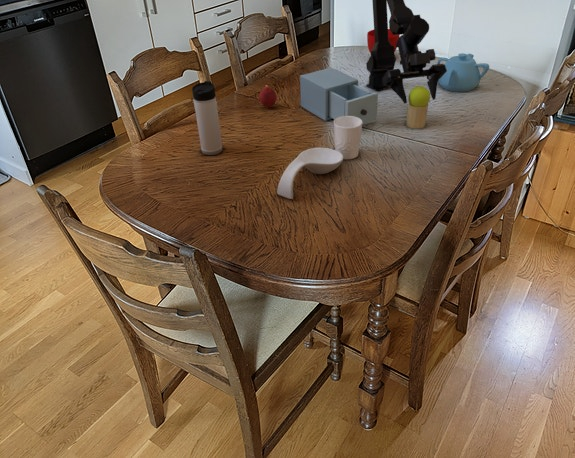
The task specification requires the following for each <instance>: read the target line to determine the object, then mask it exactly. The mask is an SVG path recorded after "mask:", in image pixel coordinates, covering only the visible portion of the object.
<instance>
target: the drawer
mask: <svg viewBox="0 0 575 458" xmlns="http://www.w3.org/2000/svg"><path fill="white" fill-rule="evenodd" d="M378 102H379V93H378V92H377V91H376V92H375V91H374V92H372V93H371V91H369V90H367V89H366V88H363V87H360V86H359V85H358V86H357V85H355V84H351V85H348V86H344V87H340V88H337V89H333V90H330V91H328V116H329V117H331V118H333V119H332V120H333V121H334V120H335V119H336V118H338V117H342V116H354V117H358V118H360V119H361V120H362V126H363V125H366V124H370V123H372V122H375V121H377V117H378V114H377V113H378Z"/></svg>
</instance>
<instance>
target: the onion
mask: <svg viewBox="0 0 575 458" xmlns="http://www.w3.org/2000/svg"><path fill="white" fill-rule="evenodd" d="M258 97H259V98H258V99H259V102H260V104H262V105H263V106H264V107H265V108H266V109H270V108H271V107H272V106H274V105H275V104H276V102H277V98H278V97H277V93H276V92H275V90H274V89H273V88H272V87H270V86H269V85H267V84H265V87H264V88H262V90H261V91H260V93H259V96H258Z"/></svg>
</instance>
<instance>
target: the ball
mask: <svg viewBox="0 0 575 458" xmlns="http://www.w3.org/2000/svg"><path fill="white" fill-rule="evenodd" d="M407 97H408V98H407V99H408V103H409V102H410V104H411V105H412V106H415V107H423V106H425V105H427V103H428V104H429V102H430V100H431V93H430V90H429V88H428V87H425V86H424V85H423V86H422V85H417V86H414V87H413V88H412V89H411V90H410V91H409V93H408V96H407Z"/></svg>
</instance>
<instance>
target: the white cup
mask: <svg viewBox="0 0 575 458" xmlns="http://www.w3.org/2000/svg"><path fill="white" fill-rule="evenodd" d="M362 130H363V125H362V120H361V119H360V118H358V117H354V116H342V117H338V118H336V119H335V120H334V119H333V140H334V141H333V142H334V143H333V144H334V150H336V151H338V152H340V153H341V154H342V155H343V160H352V159H356V158H357V157H358V156H359V154H360V153H359V151H360V146H361V140H362V132H363V131H362Z"/></svg>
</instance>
